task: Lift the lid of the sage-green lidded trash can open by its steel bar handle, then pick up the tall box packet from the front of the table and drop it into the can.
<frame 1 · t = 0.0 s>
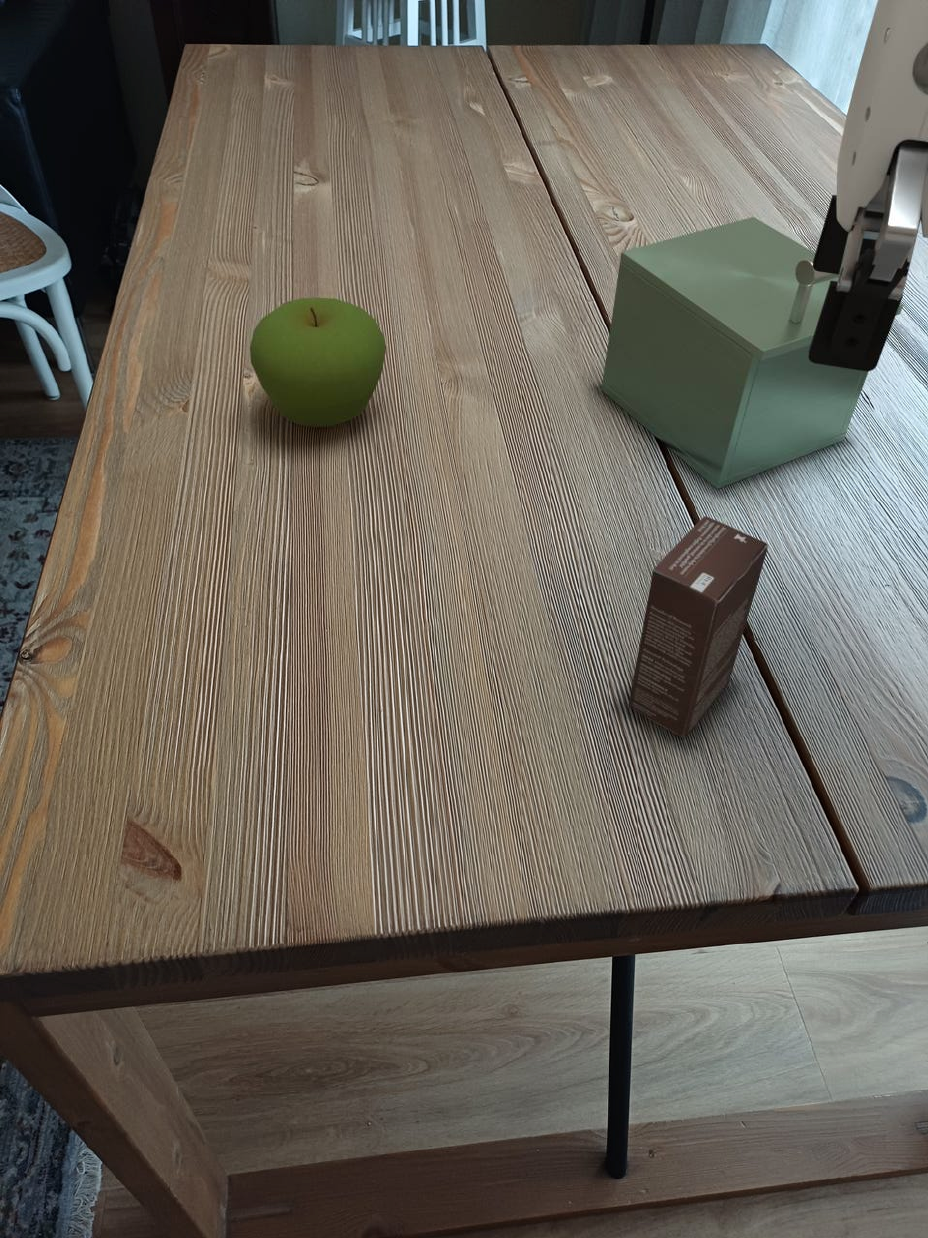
hand: (840, 315, 51), 22 cm above the table, tool pointing down, fingers open, 9 cm apart
trash can: (719, 414, 83), on the table
box: (675, 697, 62), on the table
apple: (324, 418, 82), on the table
bin lid: (764, 252, 73), point 15 cm above the table, hinge at 0.0°
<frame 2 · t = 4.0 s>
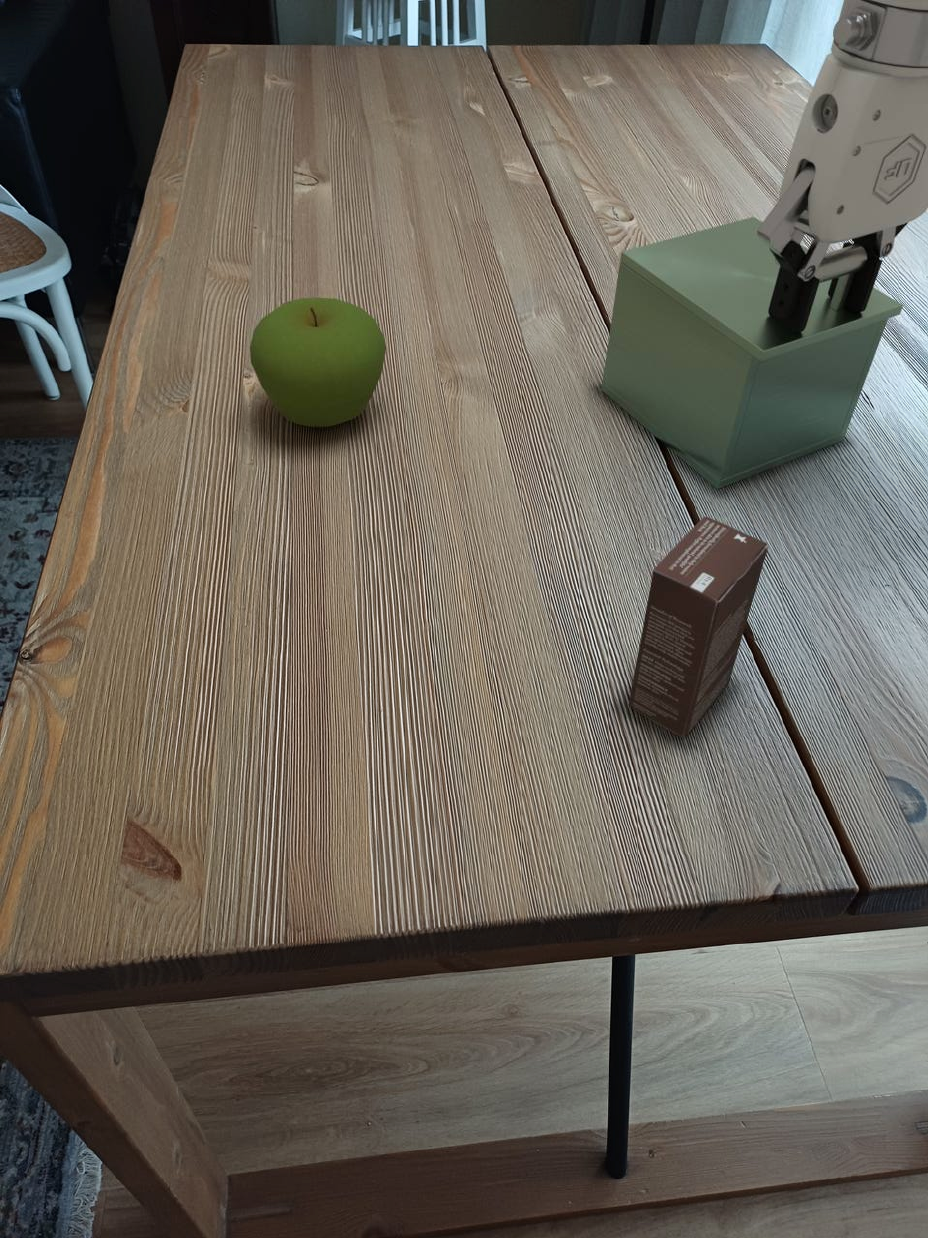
hand: (816, 311, 70), 13 cm above the table, tool pointing down, fingers closed on bin lid, 5 cm apart
bin lid: (764, 252, 73), point 15 cm above the table, hinge at -0.1°, touching gripper
everything else where it was.
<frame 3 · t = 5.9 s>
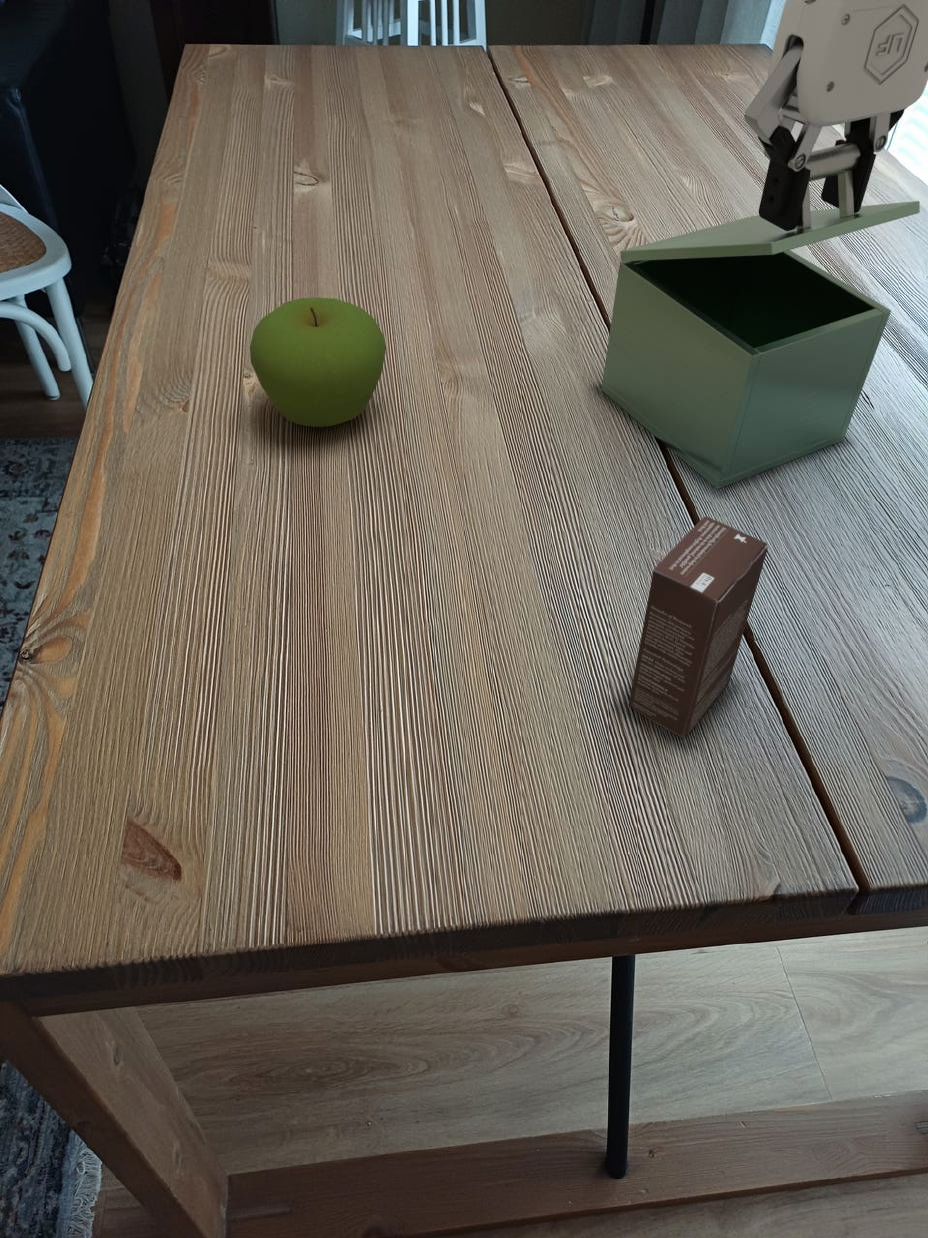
hand: (808, 211, 68), 19 cm above the table, tool pointing down, fingers closed on bin lid, 5 cm apart
bin lid: (758, 199, 71), point 18 cm above the table, hinge at 25.2°, touching gripper
everything else where it was.
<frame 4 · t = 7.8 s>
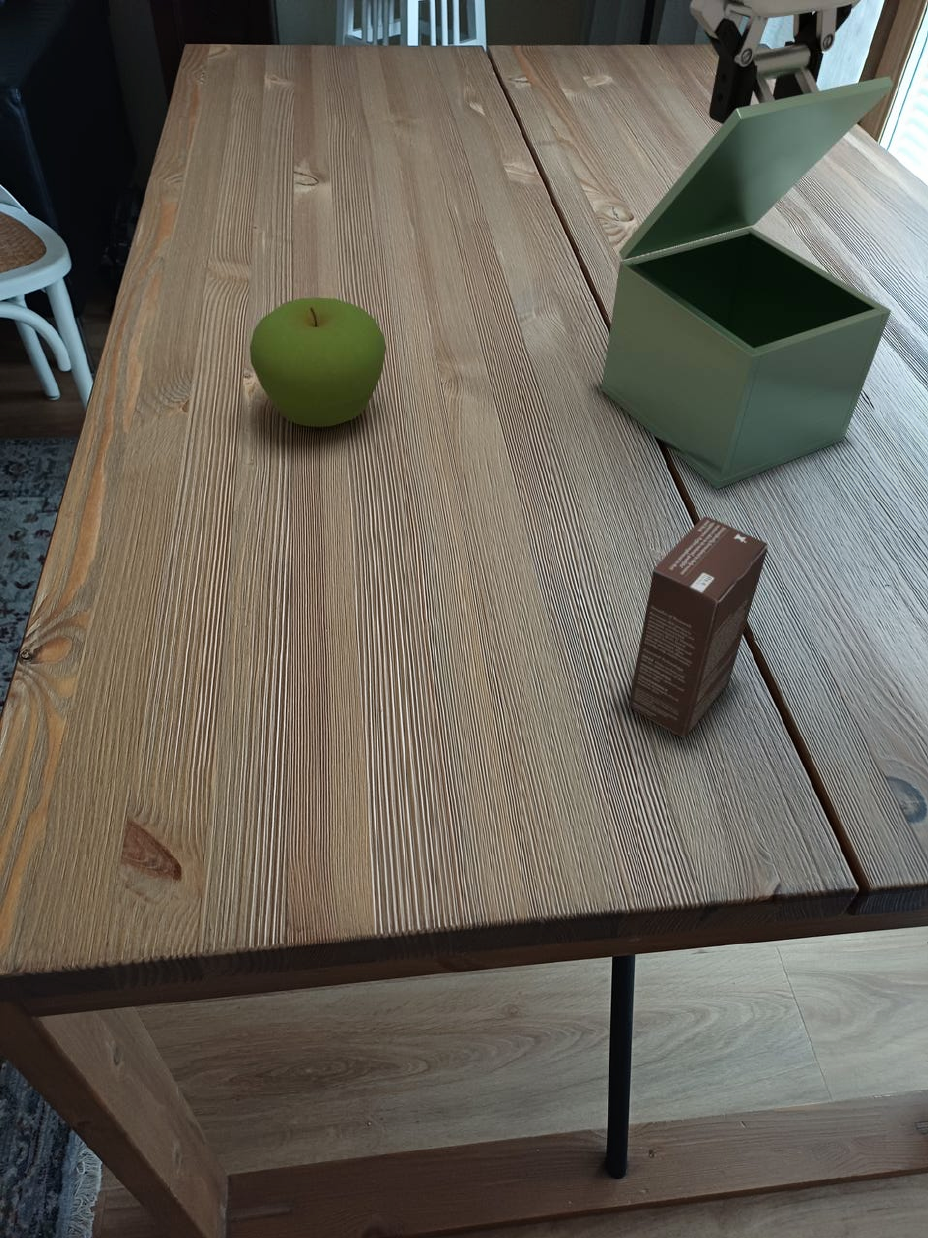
hand: (758, 113, 68), 23 cm above the table, tool pointing down, fingers closed on bin lid, 5 cm apart
bin lid: (733, 146, 72), point 20 cm above the table, hinge at 55.1°, touching gripper
everything else where it was.
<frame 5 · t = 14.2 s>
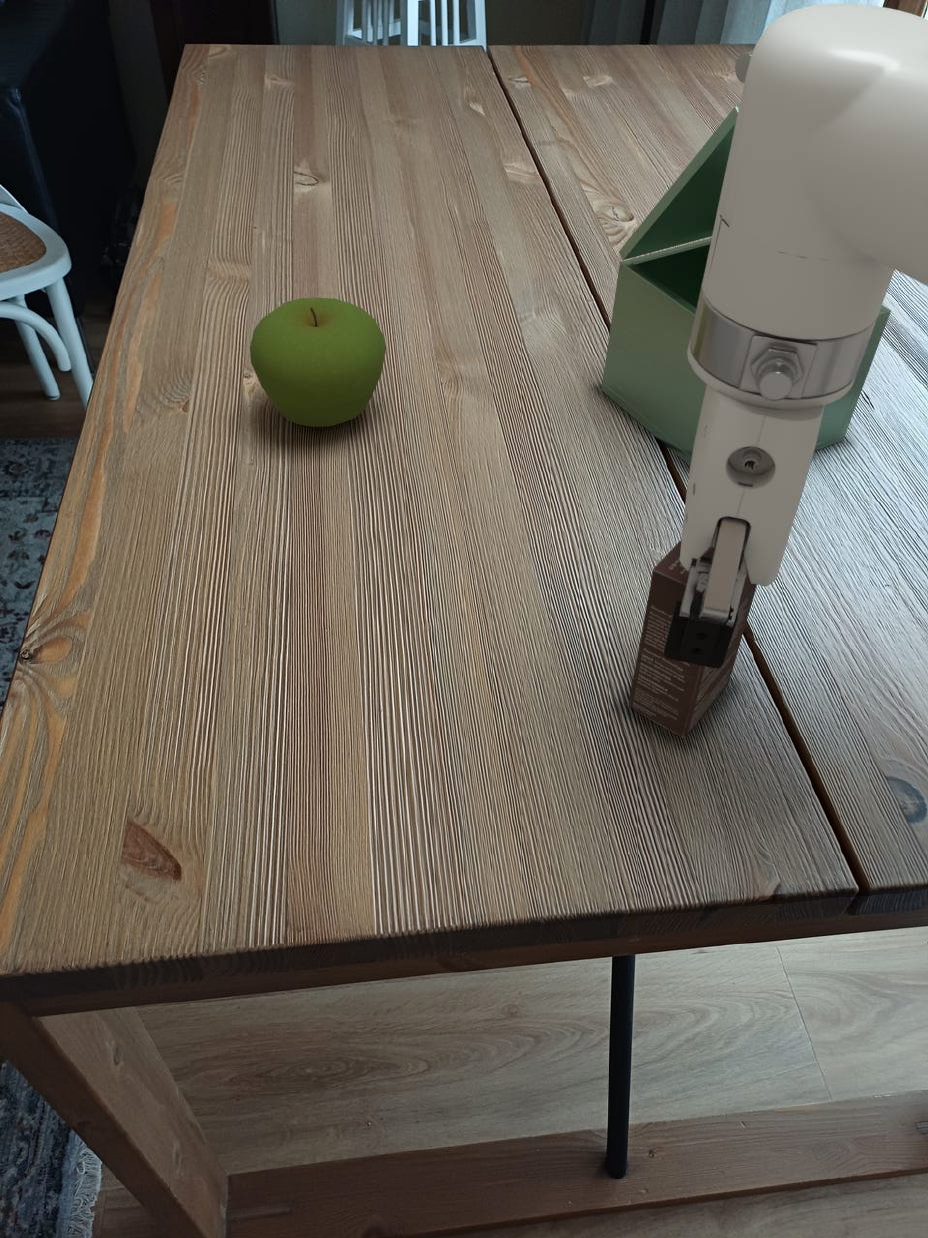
hand: (699, 609, 56), 8 cm above the table, tool pointing down, fingers closed on box, 7 cm apart
box: (675, 697, 62), on the table, touching gripper
bin lid: (732, 146, 72), point 20 cm above the table, hinge at 55.6°
everything else where it was.
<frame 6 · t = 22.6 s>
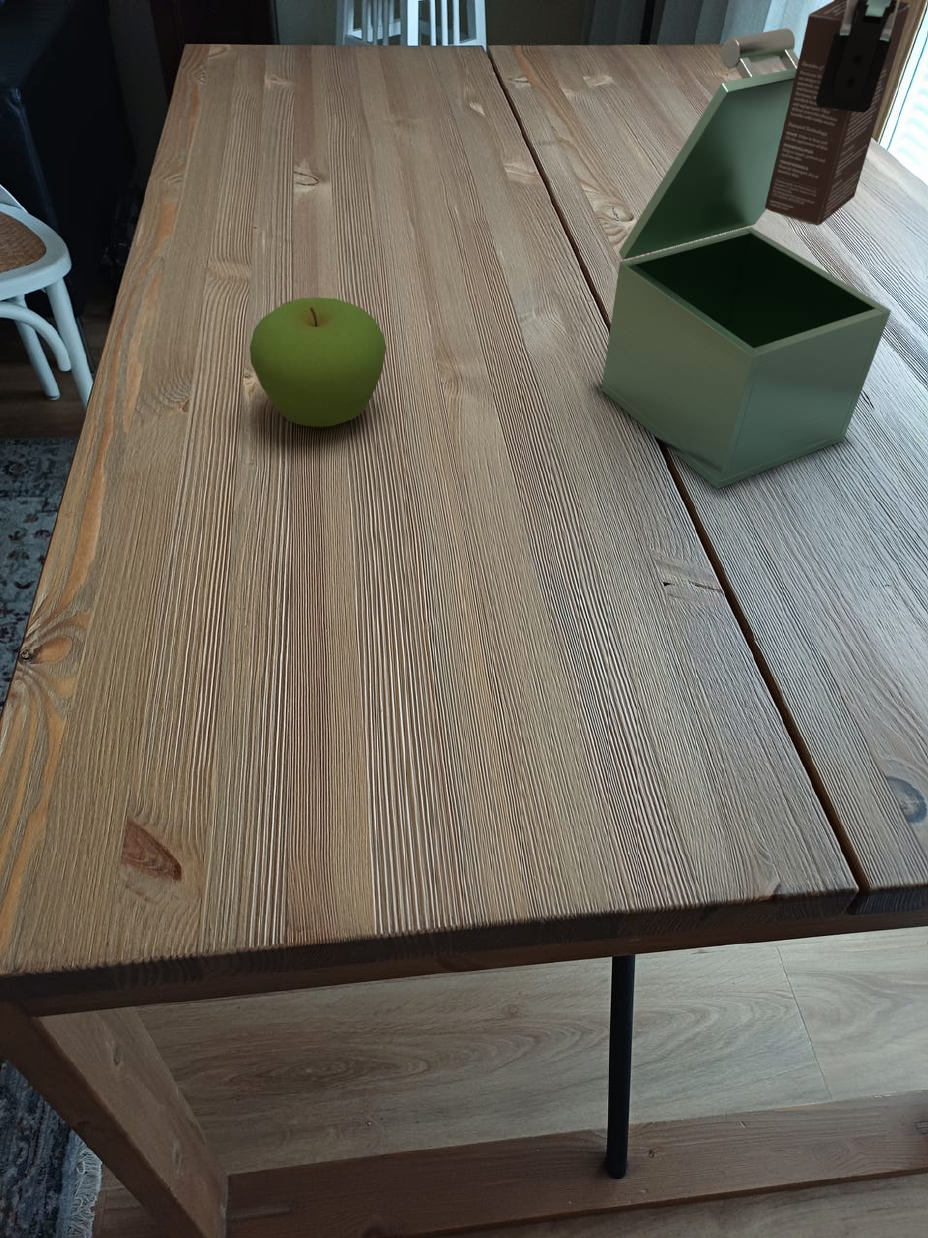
hand: (842, 83, 62), 27 cm above the table, tool pointing down, fingers closed on box, 7 cm apart
box: (805, 207, 68), point 19 cm above the table, touching bin lid, gripper
bin lid: (725, 138, 72), point 21 cm above the table, hinge at 62.0°, touching box, gripper
everything else where it was.
when the fingers open (27 cm above the table, at t = 23.1 s): box drops 18 cm, resting on trash can.
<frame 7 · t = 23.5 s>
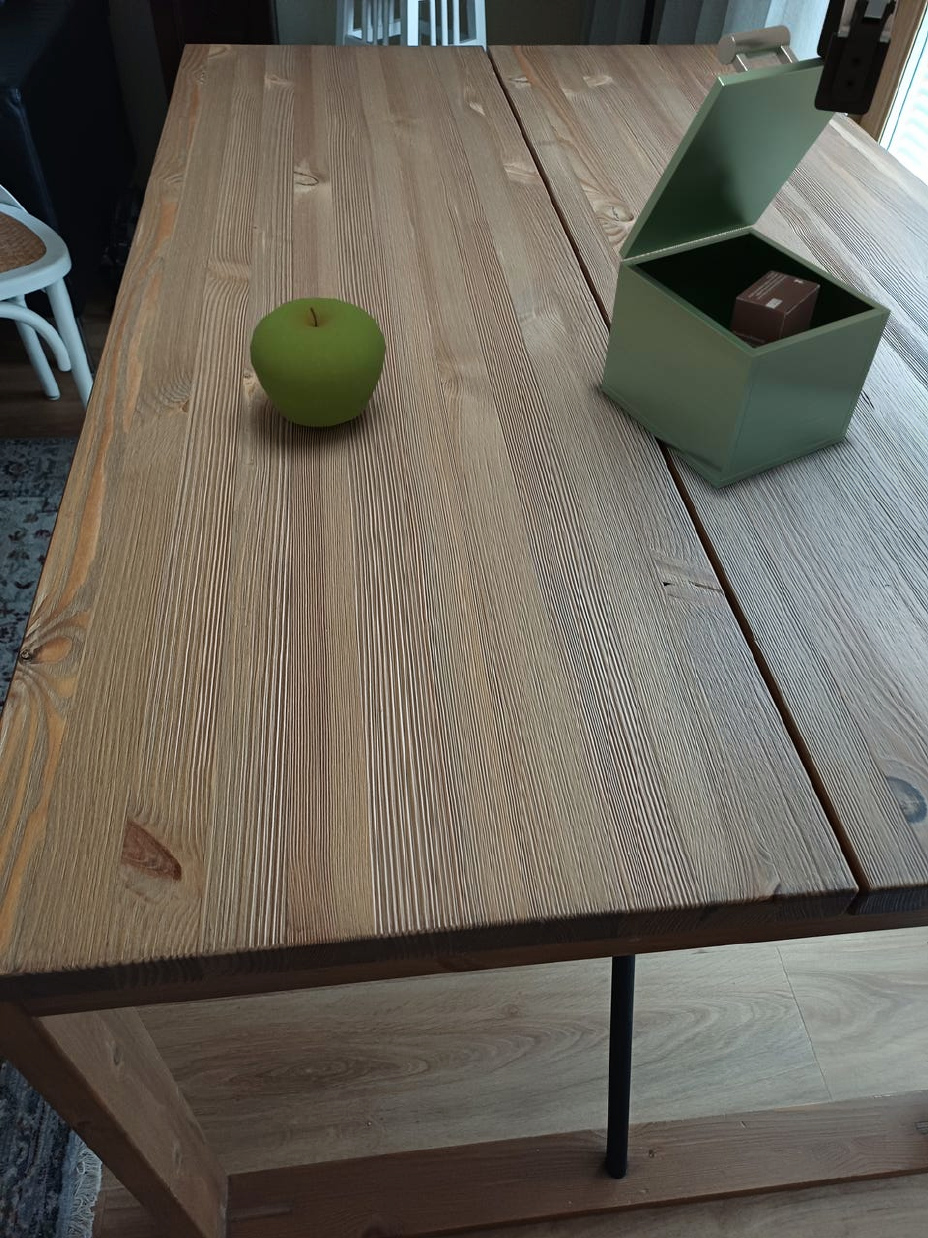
hand: (839, 82, 62), 27 cm above the table, tool pointing down, fingers open, 9 cm apart
box: (743, 430, 81), point 1 cm above the table, touching trash can
bin lid: (723, 136, 72), point 21 cm above the table, hinge at 63.8°, touching gripper
everything else where it was.
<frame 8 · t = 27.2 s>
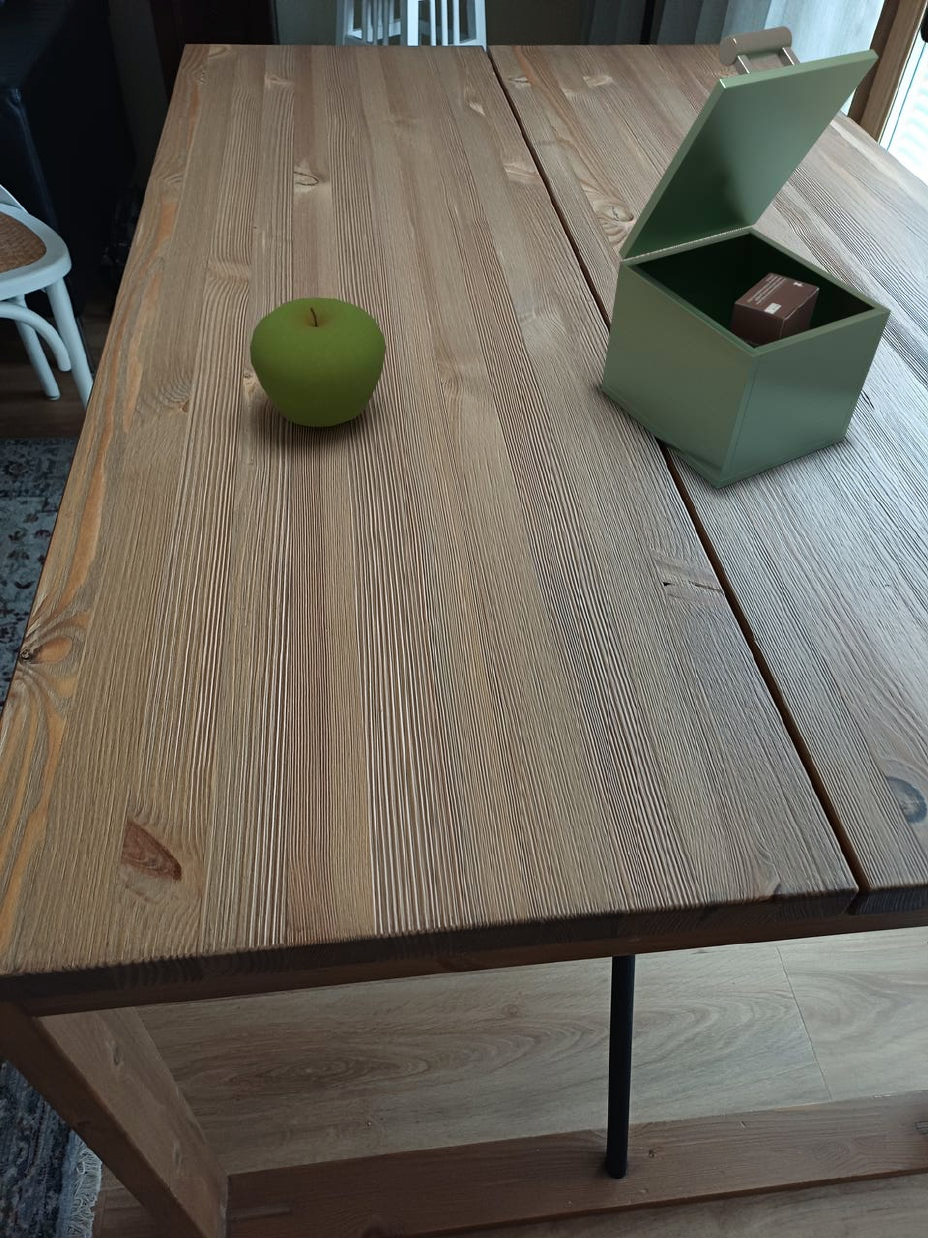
bin lid: (724, 137, 72), point 21 cm above the table, hinge at 63.1°
everything else where it was.
at the end: bin lid at +63° (first picture: +0°); box inside the target area in the trash can (3.4 cm from its centre), point 0.6 cm above the trash can's base; the gripper is holding nothing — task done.
